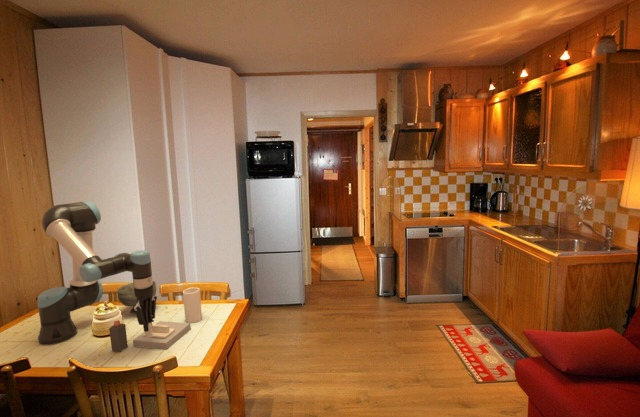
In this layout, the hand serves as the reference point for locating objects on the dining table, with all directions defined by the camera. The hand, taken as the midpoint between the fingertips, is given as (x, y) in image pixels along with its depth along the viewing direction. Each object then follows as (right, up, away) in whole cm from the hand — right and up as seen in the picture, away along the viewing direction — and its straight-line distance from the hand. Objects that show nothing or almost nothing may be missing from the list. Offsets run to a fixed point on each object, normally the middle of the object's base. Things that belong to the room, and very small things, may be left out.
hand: (148, 336), depth 158 cm
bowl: (-25, -1, +41) cm, 48 cm away
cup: (+10, -1, +28) cm, 30 cm away
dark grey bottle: (-13, -6, +1) cm, 14 cm away
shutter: (+2, -1, +7) cm, 7 cm away
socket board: (+2, -4, +10) cm, 11 cm away
